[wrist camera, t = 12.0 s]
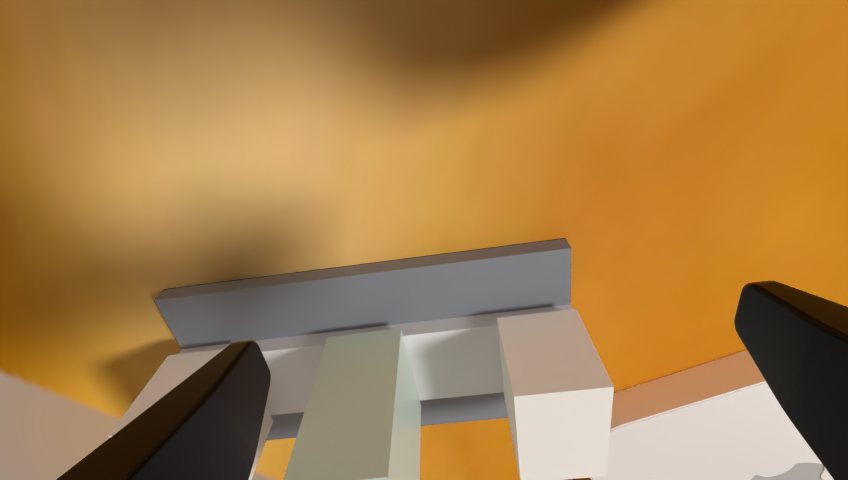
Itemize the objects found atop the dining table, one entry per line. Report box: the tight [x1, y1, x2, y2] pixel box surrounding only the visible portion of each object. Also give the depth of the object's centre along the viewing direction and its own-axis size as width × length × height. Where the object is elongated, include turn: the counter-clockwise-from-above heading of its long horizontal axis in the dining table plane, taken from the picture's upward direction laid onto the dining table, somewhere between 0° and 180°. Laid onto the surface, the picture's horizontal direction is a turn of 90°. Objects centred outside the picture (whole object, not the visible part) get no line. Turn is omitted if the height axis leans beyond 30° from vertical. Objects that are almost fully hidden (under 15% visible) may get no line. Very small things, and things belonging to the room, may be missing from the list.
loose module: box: [284, 328, 421, 480], centre depth 20 cm, size 4×6×8 cm, turn 10°
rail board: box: [108, 238, 614, 480], centre depth 22 cm, size 22×12×7 cm, turn 99°
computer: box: [590, 350, 834, 480], centre depth 29 cm, size 22×22×3 cm
